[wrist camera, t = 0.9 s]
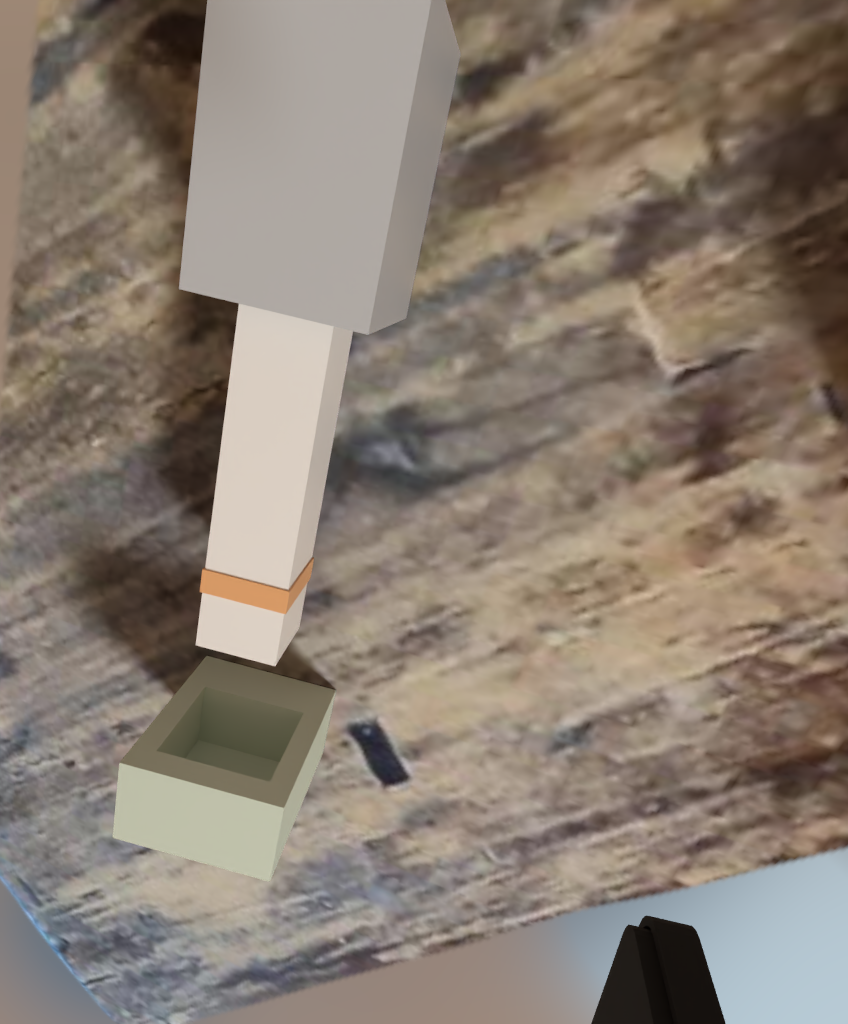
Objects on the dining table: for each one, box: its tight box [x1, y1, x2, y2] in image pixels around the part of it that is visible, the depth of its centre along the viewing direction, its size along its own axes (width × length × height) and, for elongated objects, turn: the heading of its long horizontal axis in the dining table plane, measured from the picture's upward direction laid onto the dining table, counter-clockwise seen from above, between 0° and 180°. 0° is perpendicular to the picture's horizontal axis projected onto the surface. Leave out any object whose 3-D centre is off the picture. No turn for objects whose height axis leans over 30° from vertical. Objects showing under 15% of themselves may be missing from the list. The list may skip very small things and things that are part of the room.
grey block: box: [179, 0, 460, 335], centre depth 26 cm, size 10×6×8 cm, turn 168°
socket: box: [113, 656, 336, 882], centre depth 34 cm, size 4×7×9 cm, turn 78°
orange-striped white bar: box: [196, 304, 353, 666], centre depth 27 cm, size 24×4×4 cm, turn 168°
